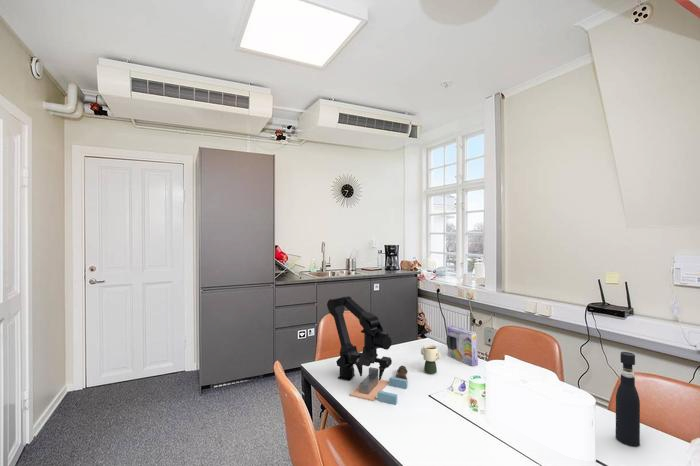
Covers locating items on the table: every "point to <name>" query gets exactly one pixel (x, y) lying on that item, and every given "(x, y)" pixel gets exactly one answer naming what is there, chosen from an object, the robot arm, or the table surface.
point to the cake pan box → (462, 345)
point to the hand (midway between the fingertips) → (370, 378)
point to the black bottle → (627, 405)
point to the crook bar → (369, 381)
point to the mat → (373, 393)
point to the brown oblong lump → (402, 372)
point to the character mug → (430, 358)
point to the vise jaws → (392, 397)
